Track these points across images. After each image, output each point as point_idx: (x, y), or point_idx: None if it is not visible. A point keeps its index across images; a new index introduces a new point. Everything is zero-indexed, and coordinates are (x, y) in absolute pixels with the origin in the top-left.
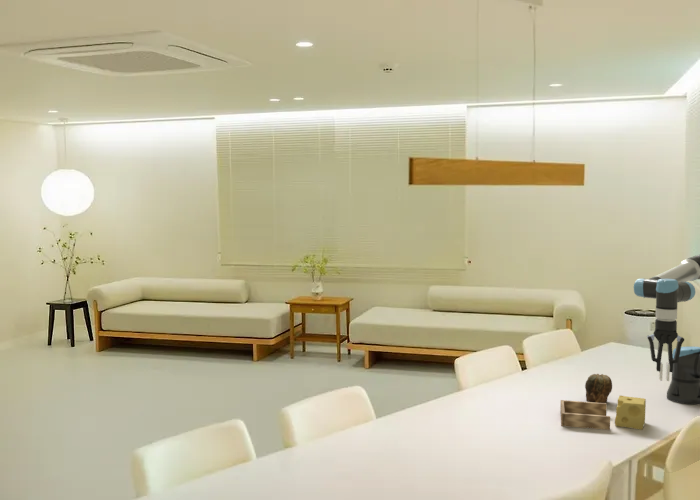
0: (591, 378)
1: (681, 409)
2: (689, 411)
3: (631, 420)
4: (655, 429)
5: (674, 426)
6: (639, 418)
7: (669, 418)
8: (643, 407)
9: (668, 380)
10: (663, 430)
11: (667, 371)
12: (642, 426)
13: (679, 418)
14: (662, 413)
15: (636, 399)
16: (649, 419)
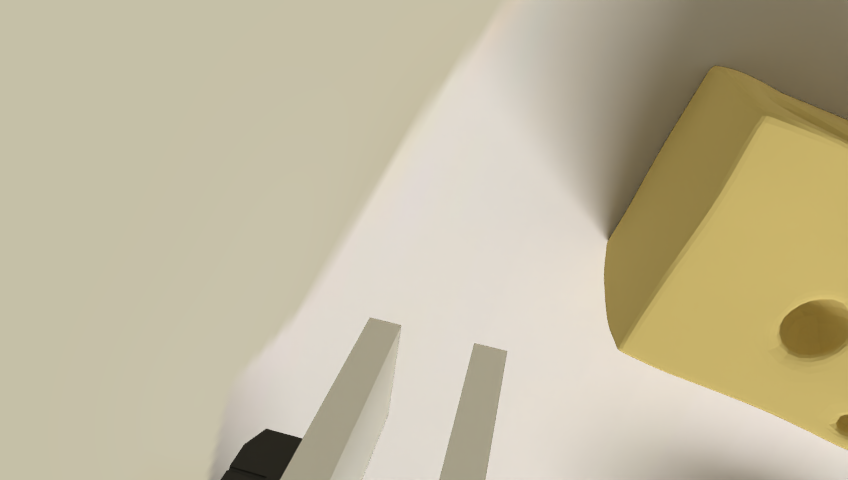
0: None
1: None
2: (245, 434)
3: (821, 112)
4: (588, 83)
5: (414, 165)
6: (765, 85)
7: None
8: (762, 102)
9: (377, 326)
10: (531, 63)
11: (347, 437)
12: (715, 70)
13: (332, 324)
14: (409, 412)
15: (737, 323)
16: (540, 307)
